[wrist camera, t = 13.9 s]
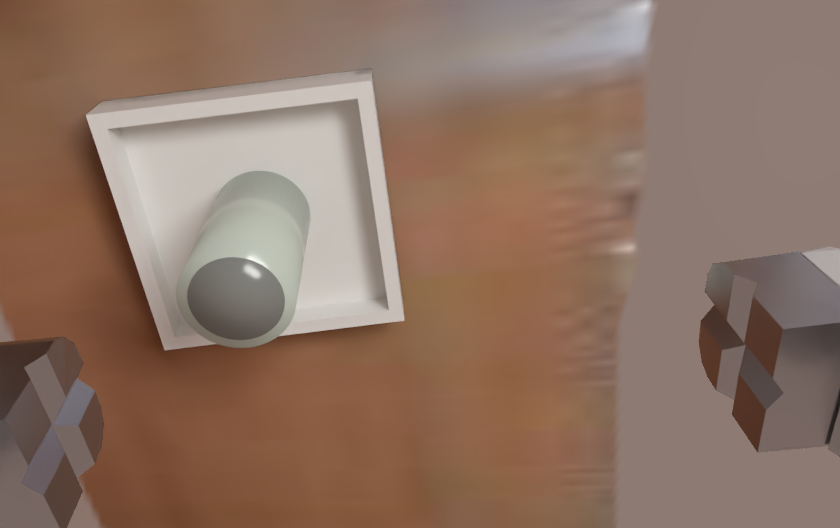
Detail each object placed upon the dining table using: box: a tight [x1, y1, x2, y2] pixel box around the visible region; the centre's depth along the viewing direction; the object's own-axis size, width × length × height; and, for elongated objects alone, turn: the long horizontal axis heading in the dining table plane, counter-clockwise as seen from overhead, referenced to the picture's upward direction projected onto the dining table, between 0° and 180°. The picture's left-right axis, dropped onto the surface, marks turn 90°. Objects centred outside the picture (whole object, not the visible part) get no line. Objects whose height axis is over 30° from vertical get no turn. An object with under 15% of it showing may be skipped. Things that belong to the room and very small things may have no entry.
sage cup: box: [176, 171, 311, 348], centre depth 35 cm, size 5×5×9 cm
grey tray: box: [86, 69, 404, 350], centre depth 39 cm, size 14×14×2 cm
